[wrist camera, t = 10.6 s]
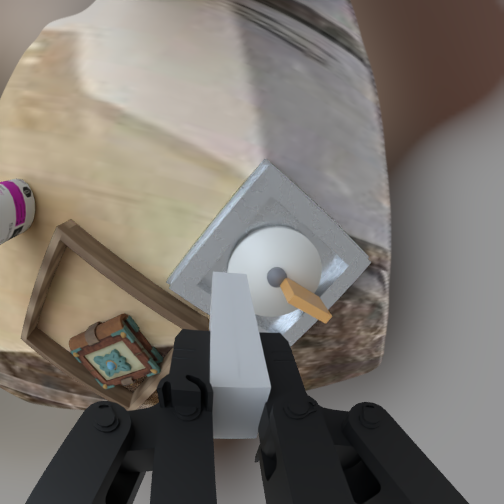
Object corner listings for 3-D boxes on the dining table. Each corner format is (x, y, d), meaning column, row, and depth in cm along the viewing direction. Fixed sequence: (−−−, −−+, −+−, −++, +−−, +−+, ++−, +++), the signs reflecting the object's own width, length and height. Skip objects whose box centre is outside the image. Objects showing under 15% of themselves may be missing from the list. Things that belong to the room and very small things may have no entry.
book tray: (71, 219, 31) (56, 226, 27) (208, 319, 38) (207, 335, 35) (30, 326, 36) (20, 338, 32) (136, 398, 43) (132, 413, 39)
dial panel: (264, 158, 32) (269, 158, 29) (365, 254, 38) (376, 262, 35) (167, 278, 36) (163, 289, 33) (275, 347, 42) (279, 360, 39)
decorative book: (58, 338, 38) (46, 355, 33) (125, 305, 37) (115, 324, 32) (103, 388, 42) (96, 407, 38) (173, 366, 42) (170, 387, 37)
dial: (209, 284, 35) (208, 312, 29) (262, 206, 32) (273, 219, 26) (286, 325, 39) (298, 354, 32) (338, 259, 36) (360, 280, 30)
